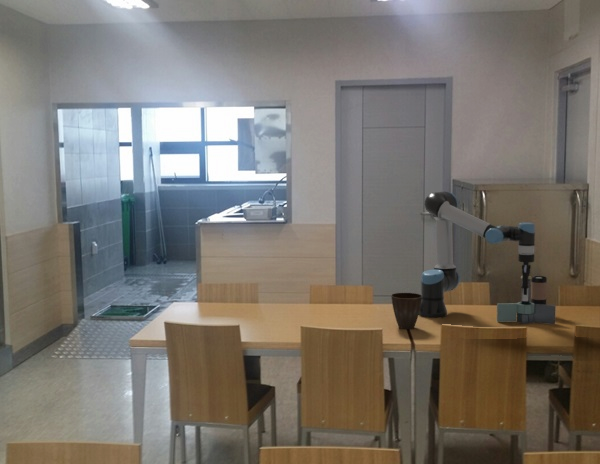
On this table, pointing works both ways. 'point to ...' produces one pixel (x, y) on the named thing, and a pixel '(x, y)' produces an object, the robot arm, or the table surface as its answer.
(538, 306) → the hinge leaf fixed
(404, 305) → the plant pot
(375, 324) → the table surface
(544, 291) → the travel mug
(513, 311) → the hinge leaf swing
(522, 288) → the hinge pin
